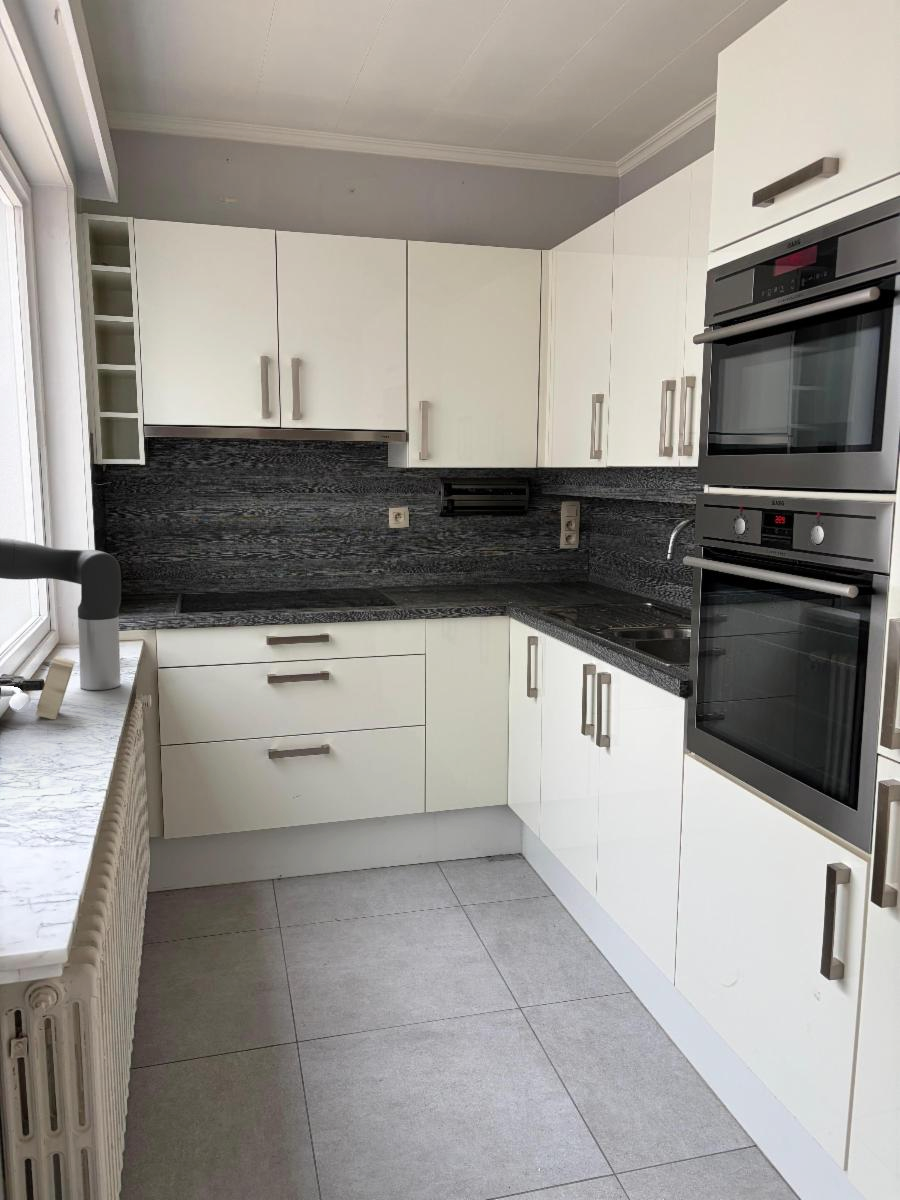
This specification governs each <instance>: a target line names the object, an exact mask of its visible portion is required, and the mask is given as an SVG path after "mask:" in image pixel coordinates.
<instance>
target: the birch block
mask: <svg viewBox="0 0 900 1200" xmlns="http://www.w3.org/2000/svg"><path fill="white" fill-rule="evenodd" d="M75 663H76V660H72V659H69V658H66V657H61V656H57V655H56V656H55V657H54V659H53V660H52V661H51V665H50V666H49V669H48V672H47V675H46V676H45V677H46V678H45V679H44V682H45V684H44V687H43V690H41V693H40V697H39V700H38V703H37V706H36V711H35V712H36V713H35V716H36V717H41V718H46V719H50V720H53V719H55V720H57V717H58V716H59V713H60V711H61V710H60V709H61V707H62V704H63V702H64V698H65V694H66V691H67V688H68V685H69V682H70V679H71V676H72V672H73V669H74V666H75Z"/></svg>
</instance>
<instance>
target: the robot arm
mask: <svg viewBox="0 0 900 1200" xmlns="http://www.w3.org/2000/svg"><path fill="white" fill-rule="evenodd" d="M121 572H122V571H121V566H120V563H119V562H118V559H116V558H115V556H114V555H112V554H110V553H107V552H105V551H103V550H102V551H101V550H97V549H69V548H67V549H64V548H54V547H49V546H45V545H42V544H38V543H34V542H30V541H24V540H20V539H15V538H13V539H12V538H9V537H8V538H5V537H0V579H5V580H20V581H21V580H39V579H52V580H57V581H58V580H59V581H64V582H69V583H74V584H77V585H81V586H80V590H81V591H80V592H81V593H80V594H81V599H80V604H79V605H78V607H77V621H78V623H77V624H78V625H77V626H78V627H77V628H78V629H77V630H78V649H79V650H78V652H79V653H78V654H79V656H78V657H79V686H80V688H81V689H83V690H88V691H103V690H111V689H115V688H118V687H121V659H120V658H121V654H120V650H121V649H120V648H121V647H120V625H119V624H120V622H119V621H120V620H119V619H120V618H119V617H120V616H119V614H120V611H119V610H120V606H121V602H122V573H121ZM44 684H45V679H44V678H34V679H32V678H31V679H28V678H27V679H26V678H24V676H20V675H15V674H14V675H13V674H8V673H7V674H6V673H3V674H0V686H14V687H18V688H20V689H21V690H22V691H23V693H25V692H34V691H35V692H36V691H37V692H38V691H42V690H43V687H44Z"/></svg>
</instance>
